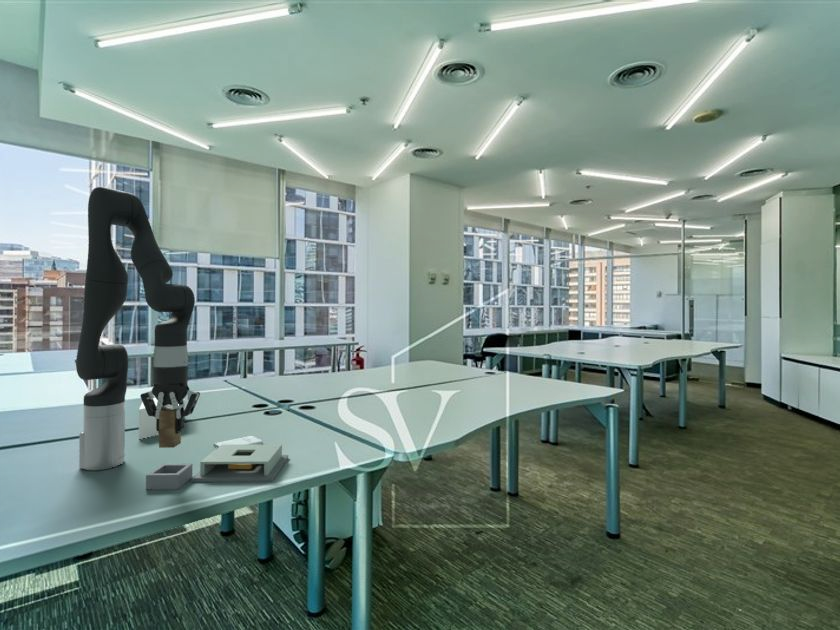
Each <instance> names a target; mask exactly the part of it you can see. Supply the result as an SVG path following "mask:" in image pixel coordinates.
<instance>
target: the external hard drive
mask: <svg viewBox="0 0 840 630" xmlns="http://www.w3.org/2000/svg"><path fill="white" fill-rule="evenodd" d="M257 444H264V441H263V440H262V439H260V438H258V437H256V436H253V435H248V436H244V437H237V438H234V439H228V440H224V441H218V442H214V443H213V447H214V446H215V447H214V448H216V447H217V448H218V447H220V446H221V445H257ZM217 448H216V449H217Z"/></svg>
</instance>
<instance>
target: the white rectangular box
mask: <svg viewBox="0 0 840 630" xmlns="http://www.w3.org/2000/svg"><path fill="white" fill-rule="evenodd" d="M153 400H154V402H155V405H156V406H157V402H158V400H157V399H156V398H155V397H154V398H153ZM167 408H173V406H172V405H168V407H167ZM155 435H156V436H159V433H158V431H157V430H156V418H155V417H153V416H148V414H147V411H146V409H145V406H144V404H143V402H141V405H140V406H139V409H138V440H139V439H141V440H143V439H142V438H145V439H148V438H147V437H149V438H152V437H151V436H153V437H155Z"/></svg>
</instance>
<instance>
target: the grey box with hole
mask: <svg viewBox="0 0 840 630" xmlns="http://www.w3.org/2000/svg"><path fill="white" fill-rule="evenodd" d="M288 459H289V454H283V444H280V443H279V444H269V443H268V444H264V443H263V444H257V445H221V446H220V447H218V448H216V449H214V451H212V452H211V453H210V454H208V455H207V456H206V457H204V459H202V460H201V461H200V464H199V465H200V467H199V468H200V470H199V471H198V472H196V473H195V475H194V476H192V478H191V483H236V482H237V483H238V482H239V483H240V482H241V483H242V482H243V483H245V482H246V483H248V482H249V483H250V482H251V483H252V482H263V483H264V482H265V483H266V482H273V481H274V480H275V478H276V477H277V475H279V473H280V471H281V470H282V468H283V467H284V465H285V464H286V462H287V461H288ZM228 464H255V465H254V466H253V468H252V469H228Z"/></svg>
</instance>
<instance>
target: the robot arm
mask: <svg viewBox="0 0 840 630" xmlns="http://www.w3.org/2000/svg"><path fill="white" fill-rule="evenodd" d="M87 225H88V226H87V227H88V230H87V231H88V233H87V234H88V247H87V248H88V250H87V262H86V271H85V272H86V273H85V279H84V293H83V295H84V296H83V298H84V299H83V311H82V312H83V314H82V324H81V330H80V335H79V340H78V346H77V351H76V360H75V362H76V364H75V367H76V368H75V369H76V373H77V375H78V378H79V379H81V380H83V381H91V380H92V381H93V380H101V379H106V380H105V382H104V383H102V384H101V385H100V386H99V387H96V388H95V389H93V390H90V391H88V392H87V393H85V394H84V395H83V431H82V432H80V433H79V436H78V437H79V444H78V445H79V450H78V452H79V453H78V454H79V455H78V457H79V459H78V462H79V463H78V464H79V465H78V467H79V469H83V470H86V471H103V470H107V469H112V467H113V468H116V467H118V465H119V466H121V465H122V464H124V463H125V455H126V454H125V446H126V445H125V442H126V441H125V440H126V439H125V437H126V436H125V435H126V434H125V433H126V431H125V430H126V428H125V427H126V426H125V425H126V424H125V423H126V394H127V388H128V386H127V385H128V371H129V356H128V351H127V349H126V347H125V346H124V345H123V344H117V343H116V344H100V340H101V337H102V334H103V332H104V330H105V328H106V326H107V325H108V324H109V323H110V321H111V320H112V318H113V317H114V316H115V315H116V314H117V313H118V312H119V311H120V310H121V308H122V307H123V305H124V303H125V302H126V300H127V295H128V294H127V293H128V286H129V285H128V284H129V274H128V272H127V270H126V267H125V266H124V263H123V262H122V260H121V258H120V257H119V255H118V253H117V251H116V250H115V247H114V245H113V241H112V225H113V226H119V227H126V228H128V229H129V230H130V232H131V233H132V235H133V236H134V237H133V238H134V239H133V242H132V245H131V249H130V258H131V261H132V264H133V265H134V267H135V269H136V271H137V273H138V275H139V276H140V278H141V281H142V287H143V292H144V298H145V302H146V304H147V305H148V307H149V308H151V309H152V310H153V311H155V312H157V313H170V315H169V318H168V319H167V320H164V321H161V322H159V323H157V324H156V325H155V326H154V348H153V355H152V371H153V372H152V382H153V387H152V388H151V390H149V391H145V392H143V393H141V394H139V395H140V399H141V401H142V402H143V404H144V406H145V409H146V411H147V414H148V416H153V417H155V418H156V430H157V431H158V433H159V411H162V410H163V409H166V408H167V407H168V405H172V406H173V410H175V415H176V418H177V419H175V433H176V434H179V433H180V432H181V433H182V432H183V431H184V429H185V418H186V417H188V416H189V415H191V414H193V413H194V409H195V408H196V405H197V403H198V400H199V398H200V396H201V393H200V392H199V391H196V392H195V391H193V390H191V389H190V387H189V386H188V380H189V352H188V332H187V331H188V328H189V324H190V321H191V317H192V314H193V311H194V308H195V303H196V302H195V301H196V300H195V294H194V291H193V289H192V288H191V287H190V286H188V285H186V284H179V283H169V282H170V281H171V279H172V278H173V275H174V273H173V270H172V267H171V265H170V264H169V263H168V261H167V258H166V257H165V256H164V254H163V252H162V250H161V248H160V247H159V245H158V242H157V239H156V238H155V235H154V232H153V228H152V225H151V223H150V220H149V218H148V213H147V212H146V209H145V206H144V204H143V202H142V201H141V199H140V198H139V196H137V195H135V194H134V193H132V192H128V191H123V190H119V189H114V188H111V187H106V186H96V187H95V188H93V189H92V190H91V192H90V194H89V198H88V204H87ZM186 396H187V400H188V402H187V403H186V404H185V398H186ZM153 398H156V399H157V400H158V402H157V406H156V405H155V402H154V400H153ZM142 402H141V403H142ZM185 405H186V407H185ZM123 462H124V463H123ZM120 464H121V465H120Z"/></svg>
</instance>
